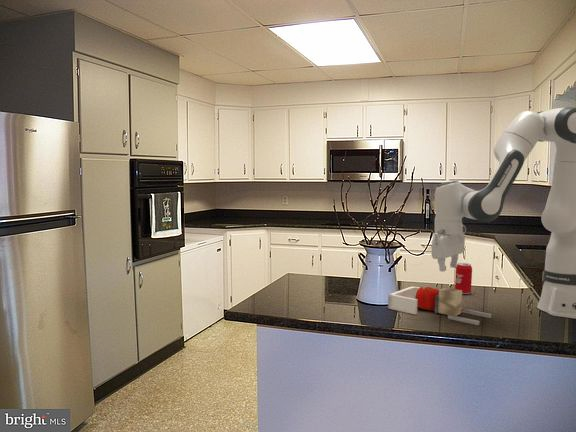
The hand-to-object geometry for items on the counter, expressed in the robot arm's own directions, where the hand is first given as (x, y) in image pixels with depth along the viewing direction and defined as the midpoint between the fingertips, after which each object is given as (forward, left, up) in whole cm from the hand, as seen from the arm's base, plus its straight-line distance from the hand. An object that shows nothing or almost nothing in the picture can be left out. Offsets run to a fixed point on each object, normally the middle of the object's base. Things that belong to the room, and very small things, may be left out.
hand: (448, 269), depth 164 cm
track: (-8, 0, -15) cm, 17 cm away
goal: (+12, 0, -15) cm, 19 cm away
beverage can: (+7, -33, -16) cm, 37 cm away
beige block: (-1, 0, -15) cm, 15 cm away
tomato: (+7, 0, -16) cm, 17 cm away
